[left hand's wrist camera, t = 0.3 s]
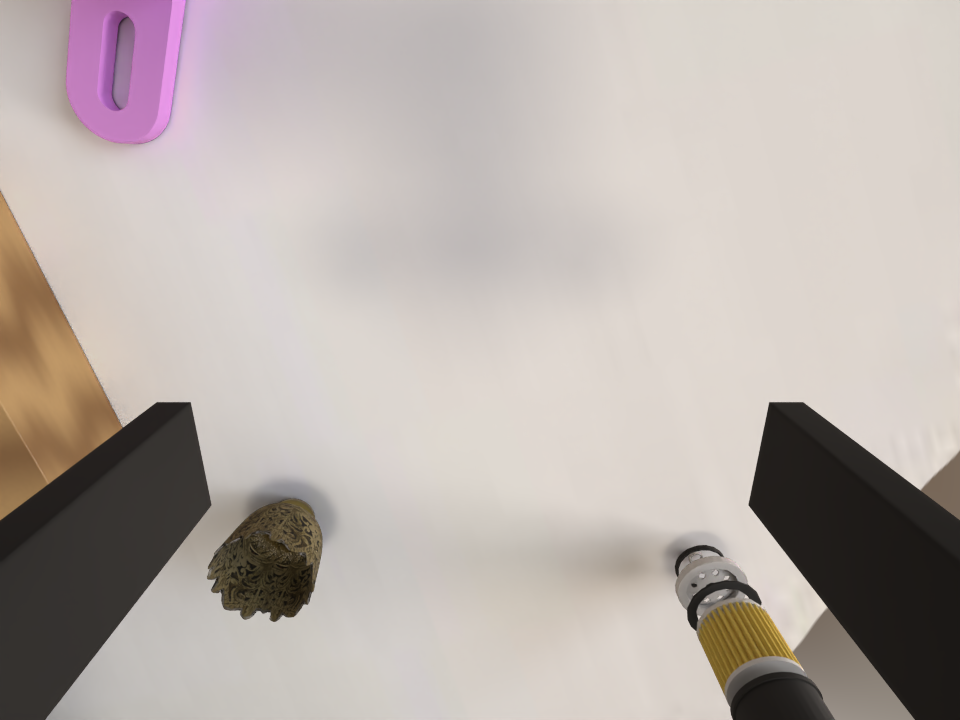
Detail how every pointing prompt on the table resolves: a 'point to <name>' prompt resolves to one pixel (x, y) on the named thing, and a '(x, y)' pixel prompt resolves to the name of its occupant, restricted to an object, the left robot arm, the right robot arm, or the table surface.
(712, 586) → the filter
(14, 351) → the bar
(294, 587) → the cup
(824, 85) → the table surface
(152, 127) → the bracket
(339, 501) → the table surface
